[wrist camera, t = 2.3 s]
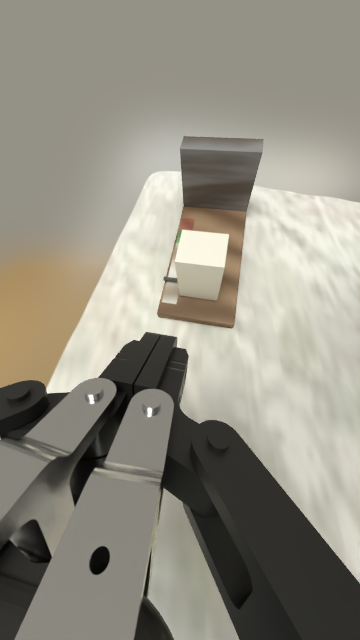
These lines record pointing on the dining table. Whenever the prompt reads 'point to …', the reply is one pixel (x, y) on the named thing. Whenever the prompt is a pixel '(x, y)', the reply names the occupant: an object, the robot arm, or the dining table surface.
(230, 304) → the base
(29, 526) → the robot arm
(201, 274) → the block
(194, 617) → the dining table surface
